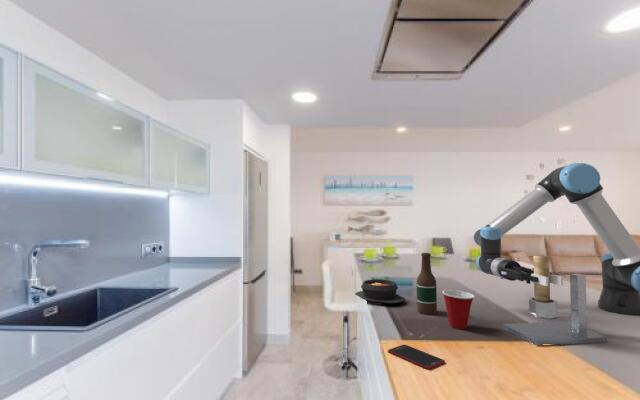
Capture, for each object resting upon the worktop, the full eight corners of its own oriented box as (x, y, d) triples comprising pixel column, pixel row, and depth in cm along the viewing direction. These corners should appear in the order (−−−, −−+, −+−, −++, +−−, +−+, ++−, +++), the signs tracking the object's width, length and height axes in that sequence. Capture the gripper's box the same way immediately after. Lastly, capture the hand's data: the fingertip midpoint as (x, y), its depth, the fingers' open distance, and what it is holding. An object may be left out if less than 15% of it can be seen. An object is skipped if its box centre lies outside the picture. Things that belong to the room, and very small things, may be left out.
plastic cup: (478, 332, 117) (478, 296, 117) (445, 330, 119) (444, 295, 120) (471, 322, 128) (470, 289, 128) (440, 320, 130) (440, 288, 130)
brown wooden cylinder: (543, 303, 117) (542, 255, 117) (553, 306, 113) (552, 257, 113) (531, 303, 116) (530, 255, 117) (541, 307, 112) (540, 257, 112)
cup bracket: (565, 325, 124) (563, 270, 124) (607, 342, 108) (605, 279, 109) (502, 328, 121) (501, 272, 122) (536, 346, 105) (534, 281, 106)
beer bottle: (436, 310, 143) (436, 252, 144) (436, 315, 136) (435, 254, 137) (417, 308, 146) (416, 251, 146) (416, 314, 138) (415, 253, 139)
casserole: (414, 302, 156) (414, 283, 156) (387, 310, 144) (387, 289, 145) (372, 292, 175) (372, 275, 176) (346, 298, 164) (345, 280, 164)
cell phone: (404, 347, 106) (404, 344, 106) (446, 364, 94) (446, 360, 94) (386, 353, 102) (386, 350, 102) (428, 372, 90) (428, 368, 90)
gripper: (527, 278, 133) (579, 292, 110) (485, 279, 131) (529, 294, 108) (527, 258, 134) (579, 269, 111) (484, 259, 132) (528, 270, 108)
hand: (554, 281), depth 109 cm, fingers closed on brown wooden cylinder, 4 cm apart
